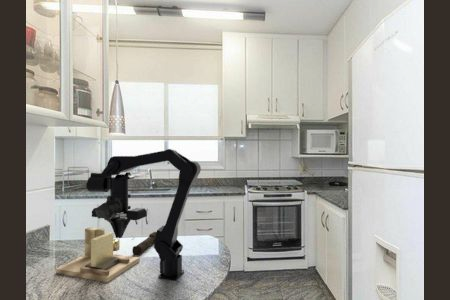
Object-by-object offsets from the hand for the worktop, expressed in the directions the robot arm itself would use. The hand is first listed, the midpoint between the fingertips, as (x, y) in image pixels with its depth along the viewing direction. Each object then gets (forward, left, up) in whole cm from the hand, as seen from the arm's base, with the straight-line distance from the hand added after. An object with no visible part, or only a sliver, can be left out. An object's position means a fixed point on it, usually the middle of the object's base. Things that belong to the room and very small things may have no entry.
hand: (119, 237), depth 83 cm
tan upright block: (+7, -2, -10) cm, 13 cm away
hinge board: (+10, -2, -12) cm, 16 cm away
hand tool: (+6, -24, -12) cm, 28 cm away
